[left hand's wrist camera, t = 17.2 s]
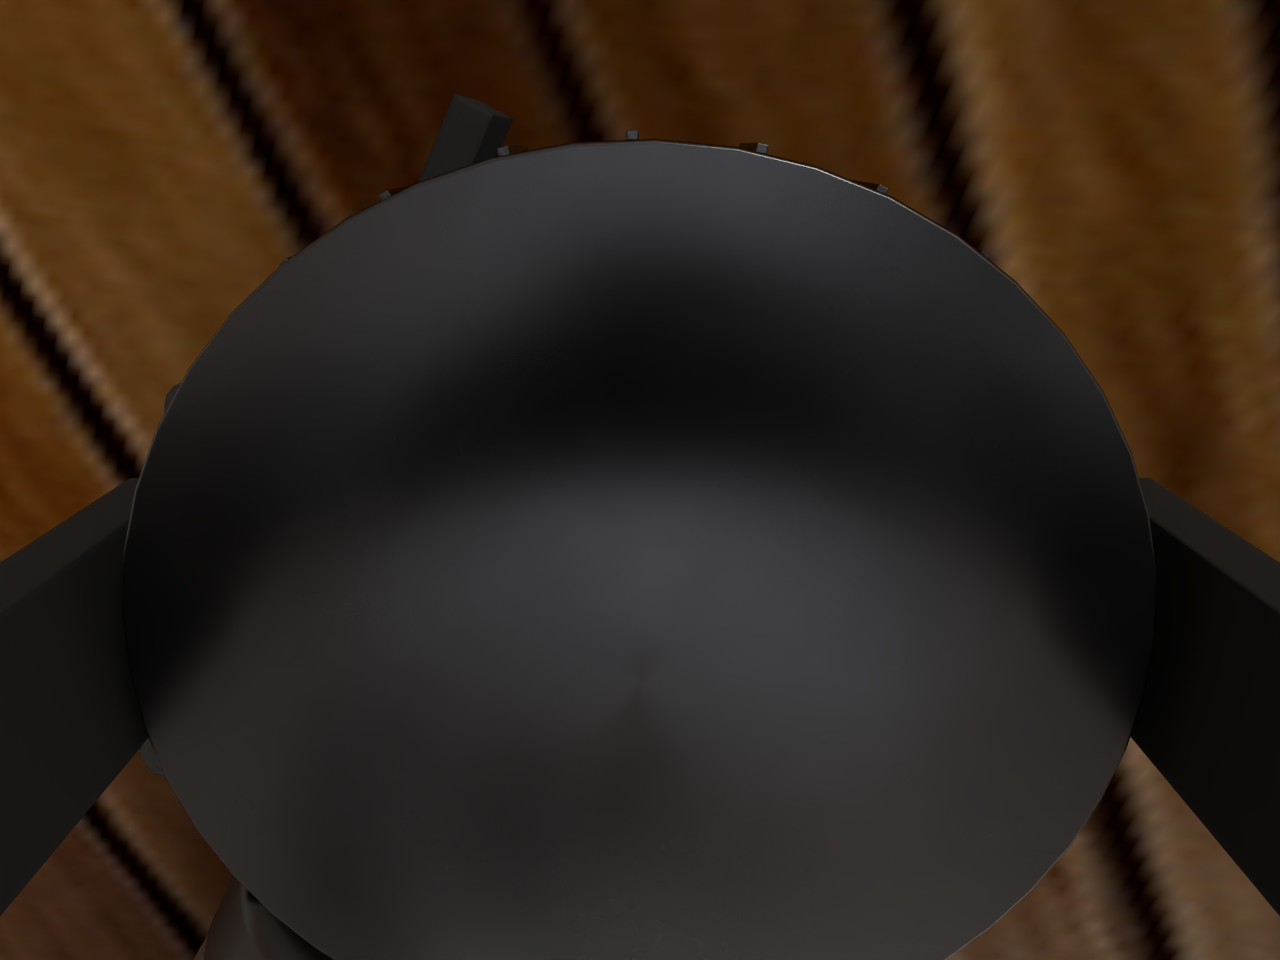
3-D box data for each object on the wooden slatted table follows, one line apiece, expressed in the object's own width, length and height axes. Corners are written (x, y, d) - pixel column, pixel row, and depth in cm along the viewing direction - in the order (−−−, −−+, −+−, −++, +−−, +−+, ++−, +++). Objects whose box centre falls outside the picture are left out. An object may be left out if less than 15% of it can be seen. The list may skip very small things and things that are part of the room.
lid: (859, -78, 9) (922, -142, 7) (1182, 733, 13) (1287, 848, 11) (21, 426, 11) (-121, 489, 9) (501, 1013, 15) (478, 1157, 13)
